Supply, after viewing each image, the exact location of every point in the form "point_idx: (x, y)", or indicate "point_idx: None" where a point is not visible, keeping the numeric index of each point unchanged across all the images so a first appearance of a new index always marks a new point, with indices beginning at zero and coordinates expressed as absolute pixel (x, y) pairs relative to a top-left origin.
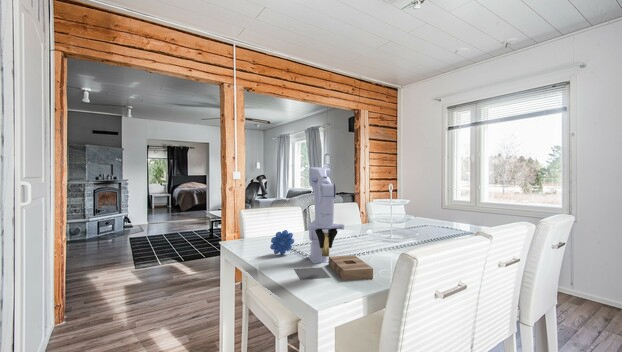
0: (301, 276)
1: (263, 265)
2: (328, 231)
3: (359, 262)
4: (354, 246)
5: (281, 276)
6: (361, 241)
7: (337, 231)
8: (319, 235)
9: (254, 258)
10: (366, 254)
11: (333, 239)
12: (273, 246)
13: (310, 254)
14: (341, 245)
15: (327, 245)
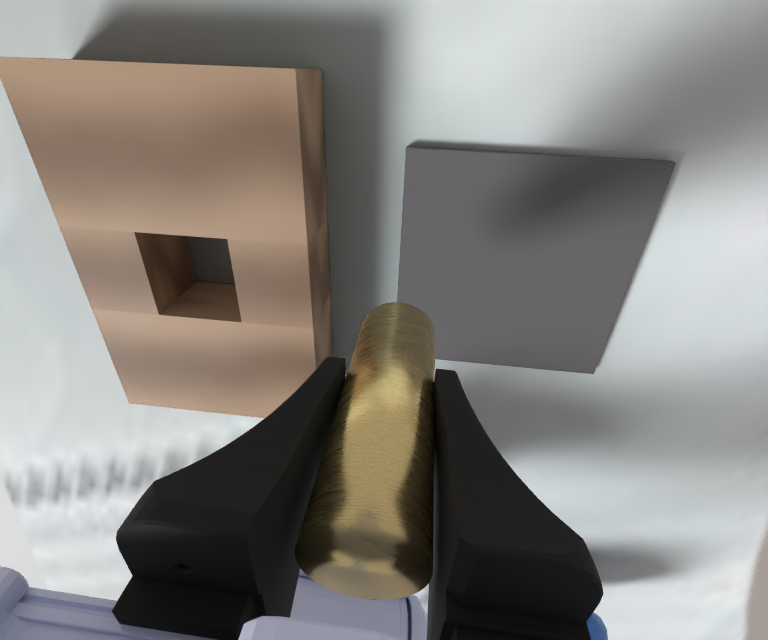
0: (622, 230)
1: (724, 480)
2: (289, 607)
3: (109, 250)
4: (121, 560)
5: (741, 291)
6: None
7: (124, 521)
8: (540, 506)
9: (702, 567)
10: (71, 466)
11: (271, 418)
12: (597, 629)
13: None
14: None
15: (378, 374)
